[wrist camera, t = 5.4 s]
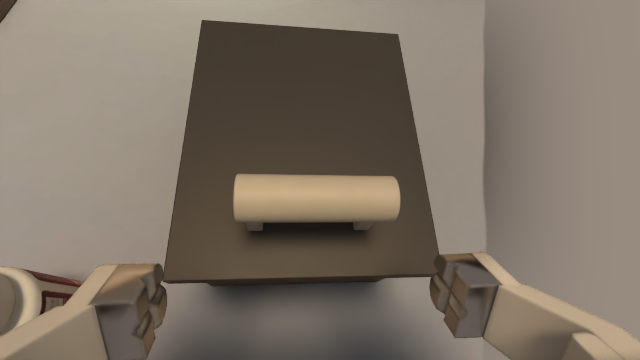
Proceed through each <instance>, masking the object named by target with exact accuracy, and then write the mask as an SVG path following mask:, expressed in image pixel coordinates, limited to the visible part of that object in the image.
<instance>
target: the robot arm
mask: <svg viewBox="0 0 640 360" xmlns="http://www.w3.org/2000/svg"><path fill="white" fill-rule="evenodd" d="M433 266H434V268H435V270H436V271H437V272H436V273H435V274H434V275H433V276H432V277H431V280H430V286H429V288H430V296H431V299H432V302H433V304H434V305H435V307H436V309H437V310H439V311H441V312H442V313H444V314H445V317H444V322H445V323H446V325H447V326H448V328H449V329H450V331H451V333H452V334H453V336H454V337H455V338H474V337H483V339H484V340H486V341H487V342H488V343H489V344H491V345H492V346H493V347H495V348H496V349H497V350H499V351H500V352H501V353H503V354H504V355H505V356H507V357H508V358H509V359H511V360H640V341H639V340H638V339H636V338H635V337H634V336H633V335H631V334H630V333H629V332H628V331H626V330H625V329H624V328H622V327H619V326H617V325H615V324H613V323H611V322H608V321H606V320H604V319H602V318H599V317H597V316H595V315H593V314H591V313H588V312H586V311H584V310H581V309H579V308H577V307H575V306H573V305H570V304H568V303H566V302H564V301H562V300H559V299H557V298H555V297H553V296H550V295H548V294H546V293H544V292H541V291H539V290H537V289H535V288H533V287H530V286H528V285H526V284H519V283H518V282H517V281H516V280H515V279H514V278H513V277H512V276H511V275H510V274H509V273H508V272H507V271H506V270H505V269H503V268H502V267H501V266H500V265H499V264H498V263H497V262H496V261H495V260H494V259H493V258H492V257H491V256H490V255H489V254H487V253H484V252H475V253H465V254H444V255H437V257H436V258H435V261H434V265H433ZM163 277H164V274H163V269H162V266H161V265H160V264H107V265H100V266H97V267H96V269H95V270H94V271H93V272H92V273H91V274H90V276H89V277H88V278H87V279H86V280H85V281H84V283H83V284H82V285H81V286H80V287H79V288H78V290H77V291H76V292H75V293H74V294H73V295H72V297H71V298H70V299H69V300H68V301H67V302H66V304H65V305H64V306H58V307H55V308H53V309H51V310H49V311H47V312H45V313H43V314H42V315H40V316H38V317H36V318H34V319H32V320H30V321H28V322H26V323H25V324H23V325H21V326H19V327H17V328H15V329H13V330H11V331H9V332H8V333H6V334H4V335H2V336H0V360H146V359H147V356H148V354H149V352H150V350H151V347H152V345H153V343H154V340H155V332H154V330H155V329H156V328H158V327H159V326H160V325H161V324H162V322H163V319H164V317H165V312H166V307H167V294H166V289H165V288H164V287H163V286H162V285H161V284H160V283H161V281H162V279H163Z"/></svg>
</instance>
